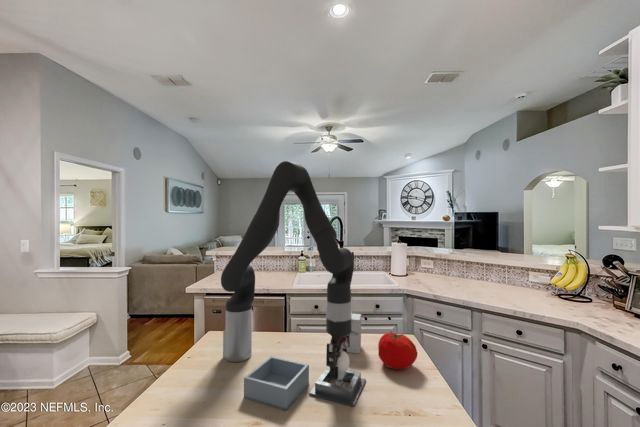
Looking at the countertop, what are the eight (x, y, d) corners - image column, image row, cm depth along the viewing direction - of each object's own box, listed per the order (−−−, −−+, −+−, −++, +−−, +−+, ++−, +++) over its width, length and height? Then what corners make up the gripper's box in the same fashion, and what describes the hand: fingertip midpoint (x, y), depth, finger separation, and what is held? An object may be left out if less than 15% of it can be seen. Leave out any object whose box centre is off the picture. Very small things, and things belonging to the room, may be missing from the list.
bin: (243, 397, 78) (243, 377, 78) (270, 373, 90) (270, 356, 91) (286, 410, 73) (286, 389, 73) (308, 382, 85) (308, 364, 85)
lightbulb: (348, 395, 79) (348, 356, 79) (326, 393, 80) (326, 354, 80) (350, 383, 85) (350, 346, 85) (329, 380, 86) (329, 344, 87)
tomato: (370, 360, 99) (370, 330, 99) (398, 353, 104) (398, 325, 104) (394, 379, 87) (394, 345, 87) (425, 371, 92) (424, 338, 92)
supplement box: (340, 352, 105) (340, 318, 106) (342, 343, 112) (342, 312, 113) (360, 354, 104) (359, 319, 104) (361, 345, 111) (361, 313, 111)
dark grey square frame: (309, 395, 79) (309, 384, 79) (326, 372, 91) (326, 362, 91) (353, 407, 74) (353, 395, 74) (365, 381, 86) (365, 371, 86)
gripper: (335, 307, 91) (335, 358, 91) (317, 322, 78) (317, 381, 78) (357, 310, 88) (357, 362, 88) (343, 325, 75) (343, 387, 75)
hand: (338, 371), depth 83 cm, fingers open, 8 cm apart
